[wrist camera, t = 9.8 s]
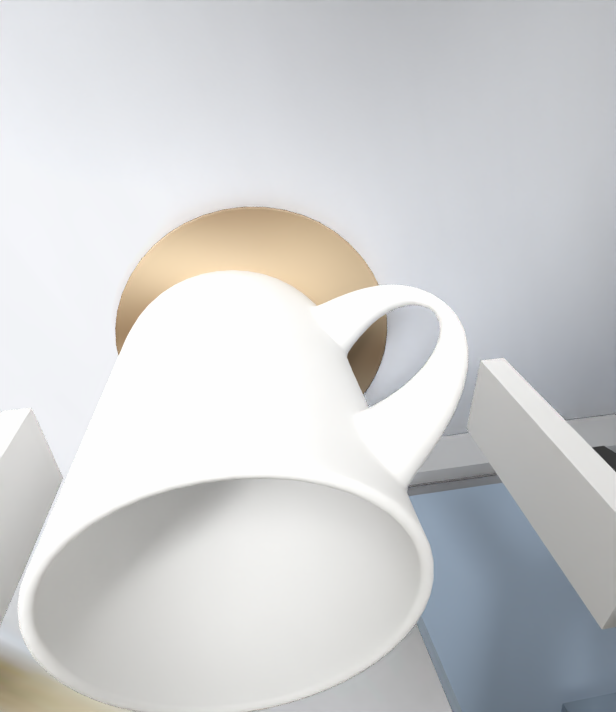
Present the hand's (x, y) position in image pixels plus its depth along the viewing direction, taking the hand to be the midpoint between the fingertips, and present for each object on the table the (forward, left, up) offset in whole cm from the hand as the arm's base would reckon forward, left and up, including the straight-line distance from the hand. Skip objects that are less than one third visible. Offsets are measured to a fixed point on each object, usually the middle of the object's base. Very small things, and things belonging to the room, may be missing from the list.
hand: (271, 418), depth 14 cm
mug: (0, 0, -6) cm, 6 cm away
